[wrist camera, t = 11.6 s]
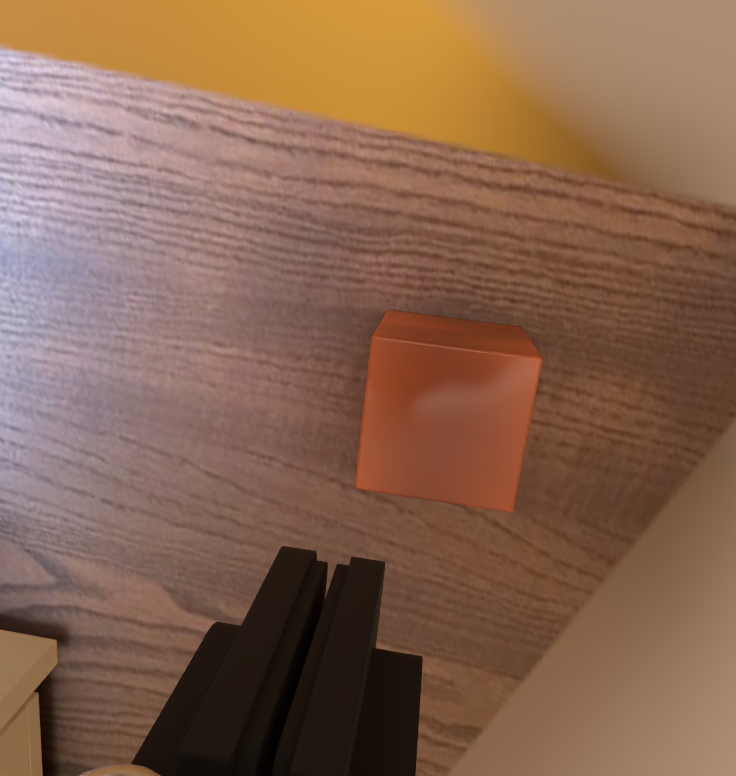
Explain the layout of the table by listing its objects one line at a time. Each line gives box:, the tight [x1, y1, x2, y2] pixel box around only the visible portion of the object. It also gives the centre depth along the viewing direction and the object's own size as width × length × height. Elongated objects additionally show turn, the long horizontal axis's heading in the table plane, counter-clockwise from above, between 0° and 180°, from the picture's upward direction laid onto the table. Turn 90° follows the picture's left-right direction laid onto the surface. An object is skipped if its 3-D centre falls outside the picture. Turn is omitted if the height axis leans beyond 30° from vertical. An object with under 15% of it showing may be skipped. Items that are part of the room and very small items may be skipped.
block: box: [355, 310, 543, 512], centre depth 19 cm, size 4×4×4 cm
